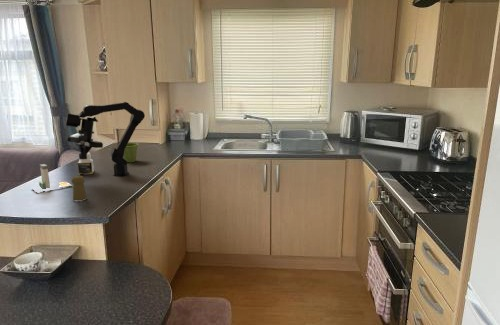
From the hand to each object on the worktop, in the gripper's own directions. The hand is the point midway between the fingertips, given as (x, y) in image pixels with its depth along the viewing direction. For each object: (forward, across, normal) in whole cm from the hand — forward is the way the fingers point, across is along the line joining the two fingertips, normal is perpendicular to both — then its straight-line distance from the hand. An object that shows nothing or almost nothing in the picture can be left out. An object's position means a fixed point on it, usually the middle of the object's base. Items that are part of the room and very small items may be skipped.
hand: (83, 157), depth 195 cm
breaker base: (+15, -2, -16) cm, 22 cm away
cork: (+13, +25, -26) cm, 38 cm away
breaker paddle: (+15, -4, -18) cm, 23 cm away
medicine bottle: (+11, -8, +13) cm, 19 cm away
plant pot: (+5, -2, +45) cm, 45 cm away
